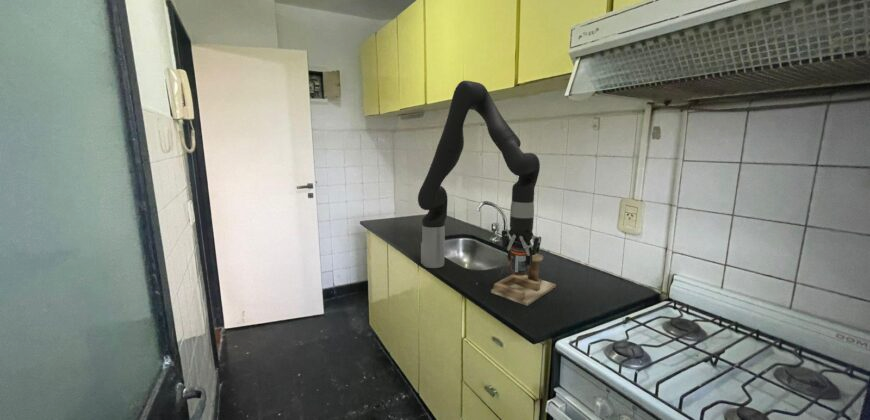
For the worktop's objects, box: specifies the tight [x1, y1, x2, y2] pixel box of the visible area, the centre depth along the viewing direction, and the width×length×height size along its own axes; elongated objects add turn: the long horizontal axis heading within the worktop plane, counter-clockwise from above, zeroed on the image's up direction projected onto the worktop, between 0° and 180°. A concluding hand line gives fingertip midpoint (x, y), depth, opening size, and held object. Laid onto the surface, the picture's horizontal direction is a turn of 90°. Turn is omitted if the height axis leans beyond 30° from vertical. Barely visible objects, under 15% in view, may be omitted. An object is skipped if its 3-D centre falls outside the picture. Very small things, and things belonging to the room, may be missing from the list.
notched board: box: [490, 273, 557, 307], centre depth 124 cm, size 14×20×4 cm
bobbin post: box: [525, 253, 544, 284], centre depth 127 cm, size 6×6×10 cm
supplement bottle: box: [509, 241, 529, 276], centre depth 119 cm, size 6×6×11 cm
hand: (519, 262), depth 119 cm, fingers closed on supplement bottle, 6 cm apart
